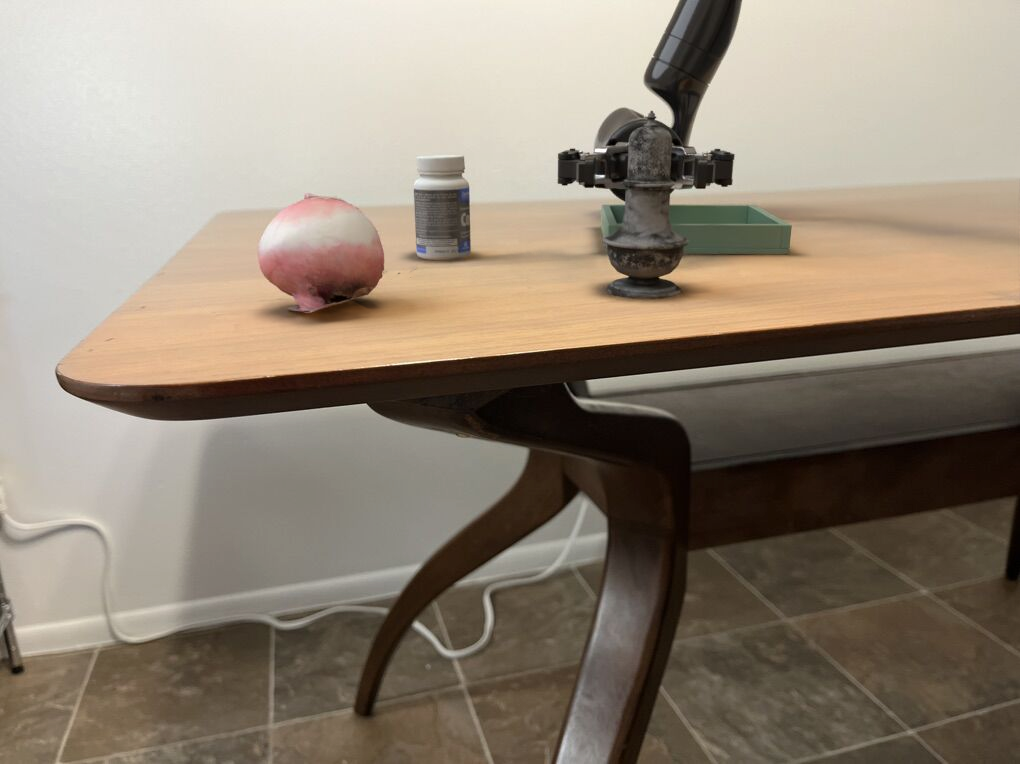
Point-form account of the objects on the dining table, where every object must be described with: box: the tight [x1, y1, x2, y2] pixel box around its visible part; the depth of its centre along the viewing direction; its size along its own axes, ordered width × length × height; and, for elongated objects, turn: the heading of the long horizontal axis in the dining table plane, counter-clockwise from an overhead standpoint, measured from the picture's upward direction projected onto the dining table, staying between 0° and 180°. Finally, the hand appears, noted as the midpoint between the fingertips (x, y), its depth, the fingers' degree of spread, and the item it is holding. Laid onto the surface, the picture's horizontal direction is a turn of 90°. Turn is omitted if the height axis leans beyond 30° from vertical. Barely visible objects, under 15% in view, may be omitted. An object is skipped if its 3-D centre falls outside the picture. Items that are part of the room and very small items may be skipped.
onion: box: [257, 192, 385, 314], centre depth 52 cm, size 8×8×7 cm
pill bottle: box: [413, 154, 472, 261], centre depth 69 cm, size 5×5×8 cm
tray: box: [600, 204, 793, 255], centre depth 77 cm, size 16×15×2 cm
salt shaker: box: [602, 110, 689, 300], centre depth 55 cm, size 6×6×12 cm
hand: (645, 174), depth 62 cm, fingers open, 8 cm apart
